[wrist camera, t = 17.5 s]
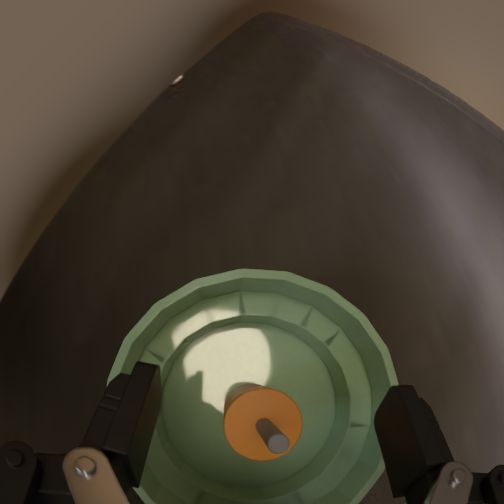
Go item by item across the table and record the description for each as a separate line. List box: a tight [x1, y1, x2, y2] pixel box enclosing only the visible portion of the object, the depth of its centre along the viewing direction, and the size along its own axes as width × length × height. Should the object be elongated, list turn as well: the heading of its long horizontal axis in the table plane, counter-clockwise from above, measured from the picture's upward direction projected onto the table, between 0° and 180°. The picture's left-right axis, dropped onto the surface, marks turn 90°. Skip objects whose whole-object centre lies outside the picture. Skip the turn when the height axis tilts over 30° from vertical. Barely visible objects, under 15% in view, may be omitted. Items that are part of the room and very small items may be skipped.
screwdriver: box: [224, 384, 302, 461], centre depth 14 cm, size 3×3×11 cm
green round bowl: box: [107, 269, 399, 504], centre depth 17 cm, size 15×15×6 cm
